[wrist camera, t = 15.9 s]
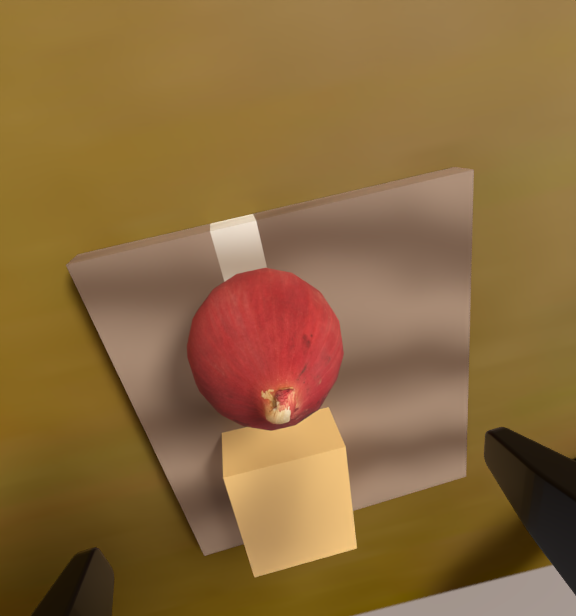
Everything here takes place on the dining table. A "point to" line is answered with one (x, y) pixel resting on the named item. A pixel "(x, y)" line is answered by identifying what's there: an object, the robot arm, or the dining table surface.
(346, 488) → the light orange rectangular block
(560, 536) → the robot arm
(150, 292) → the board
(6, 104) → the dining table surface
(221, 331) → the onion
